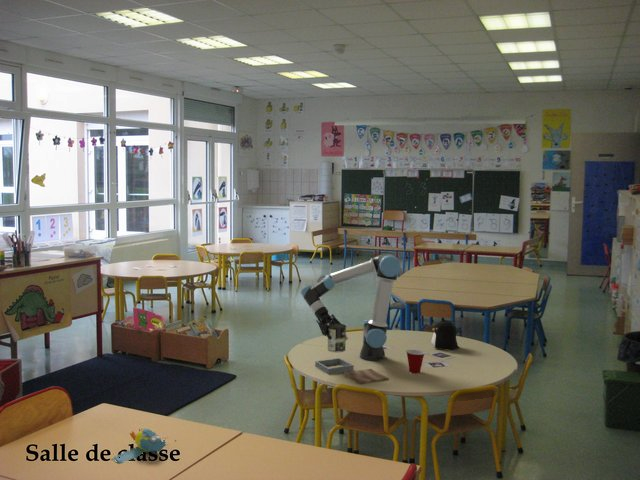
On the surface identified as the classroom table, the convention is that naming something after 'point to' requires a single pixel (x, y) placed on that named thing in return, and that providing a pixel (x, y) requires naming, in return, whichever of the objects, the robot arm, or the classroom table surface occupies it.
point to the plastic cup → (415, 360)
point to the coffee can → (337, 337)
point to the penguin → (444, 335)
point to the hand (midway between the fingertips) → (340, 341)
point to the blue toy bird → (142, 445)
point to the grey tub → (343, 368)
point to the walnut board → (365, 376)
